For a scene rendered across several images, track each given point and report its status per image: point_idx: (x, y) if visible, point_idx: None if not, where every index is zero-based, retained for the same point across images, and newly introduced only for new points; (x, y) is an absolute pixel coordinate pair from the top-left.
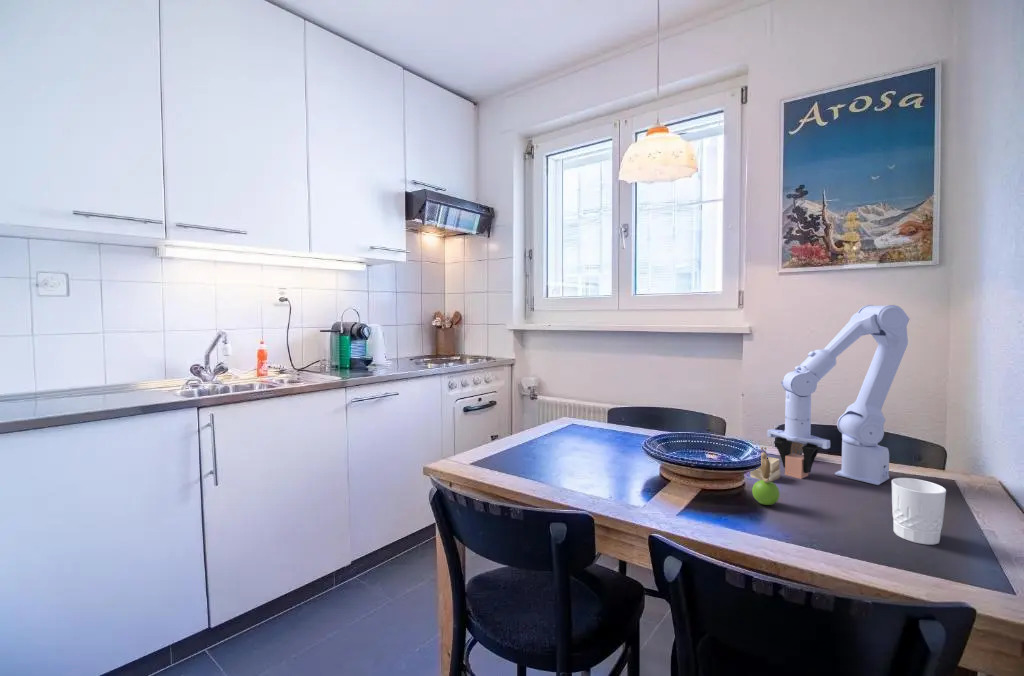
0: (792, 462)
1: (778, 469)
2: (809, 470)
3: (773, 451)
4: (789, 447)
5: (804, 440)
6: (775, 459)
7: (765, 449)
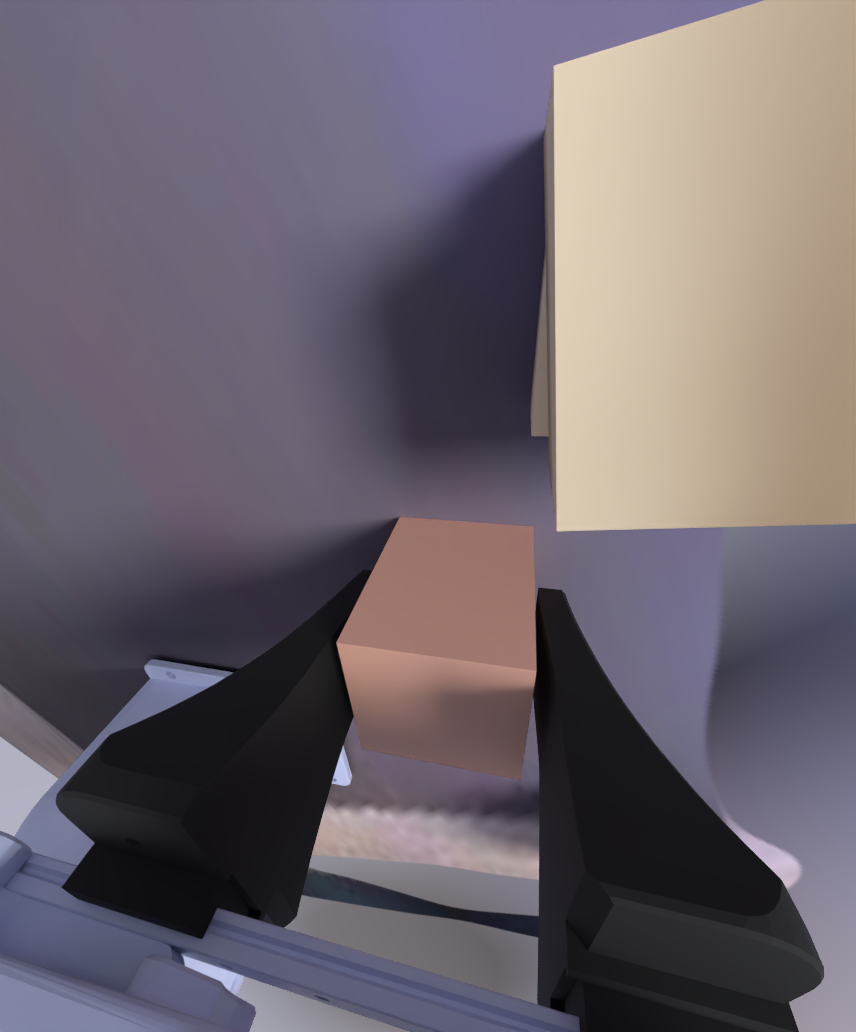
0: (451, 611)
1: (545, 425)
2: None
3: None
4: (544, 849)
5: (60, 1028)
6: (604, 468)
7: None
